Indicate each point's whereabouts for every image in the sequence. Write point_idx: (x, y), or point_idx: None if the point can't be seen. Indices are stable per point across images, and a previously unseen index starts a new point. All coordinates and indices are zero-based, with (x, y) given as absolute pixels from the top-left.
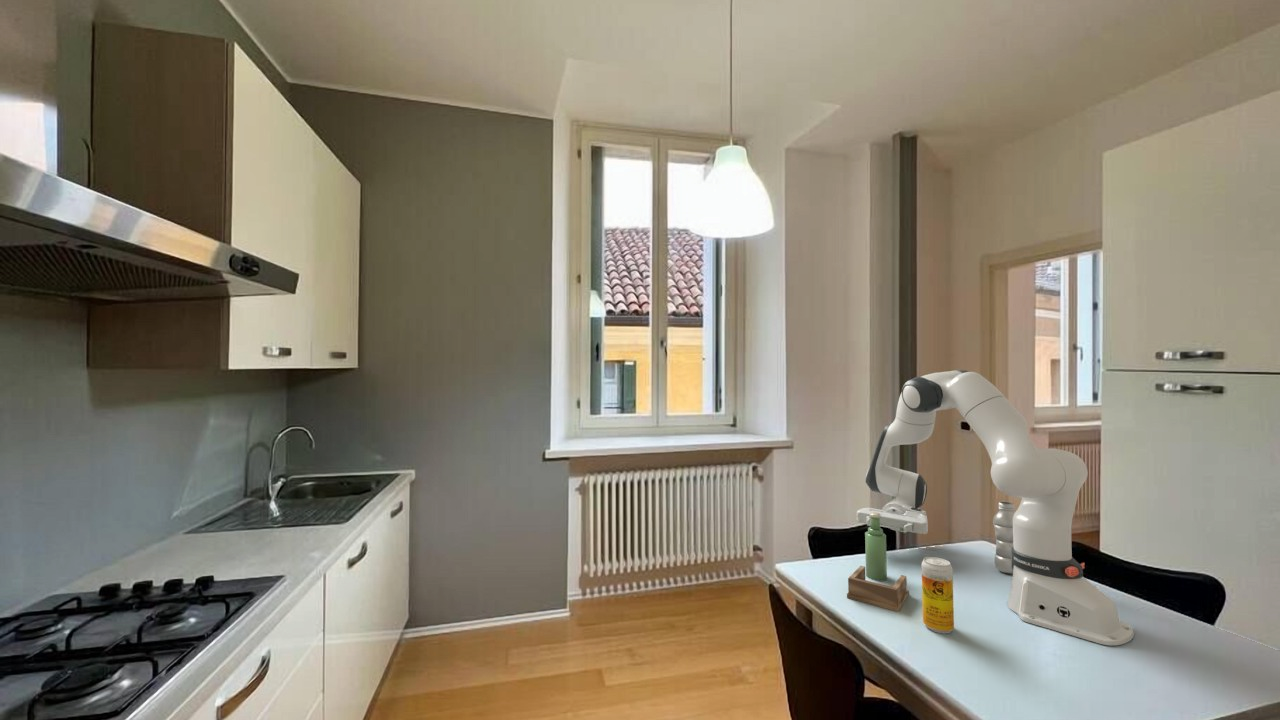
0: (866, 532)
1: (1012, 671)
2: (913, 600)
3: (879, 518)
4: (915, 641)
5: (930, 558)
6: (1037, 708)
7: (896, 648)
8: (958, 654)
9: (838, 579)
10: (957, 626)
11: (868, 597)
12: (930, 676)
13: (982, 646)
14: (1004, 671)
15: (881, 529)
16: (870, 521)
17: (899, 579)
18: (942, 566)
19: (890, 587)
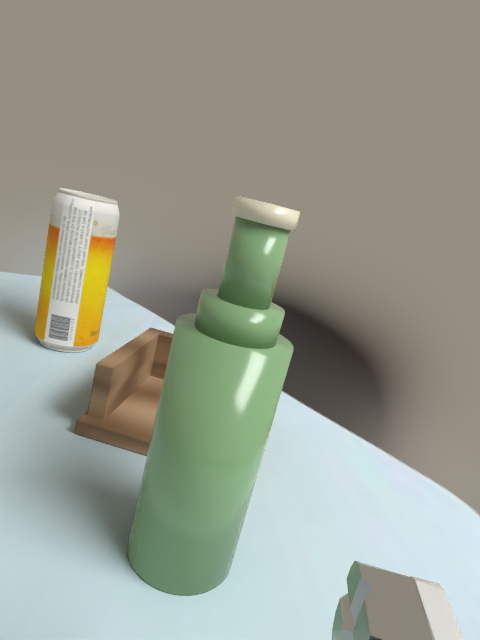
0: (287, 347)
1: (5, 292)
2: (74, 410)
3: (234, 222)
4: (128, 328)
5: (94, 201)
6: (26, 275)
7: (162, 324)
8: None
9: (323, 497)
10: (15, 343)
11: None
12: (129, 301)
13: (8, 315)
14: (18, 293)
15: (208, 294)
16: (373, 571)
17: (128, 352)
18: (85, 194)
19: (163, 333)
